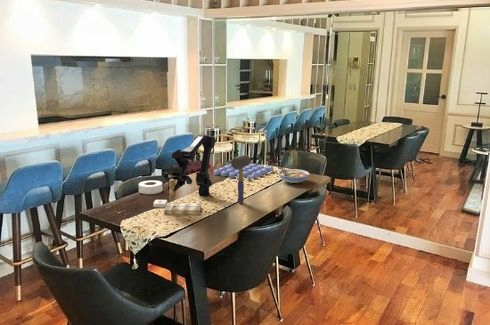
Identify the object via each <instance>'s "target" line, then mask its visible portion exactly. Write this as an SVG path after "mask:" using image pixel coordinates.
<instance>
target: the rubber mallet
mask: <svg viewBox="0 0 490 325" xmlns="http://www.w3.org/2000/svg"><path fill="white" fill-rule="evenodd" d="M230 164H231V166H232V167H233V168H234V169H239V179H238V181H237V202H238V204H243V203H244V201H245V199H244V188H245V185H244V177H243V167H246V166H248V165H249V164H251V158H250V156H249V155H248V154H247V155H246V154H243V155H239V156H238V155H237V156H235V157H234V158H232V159H231V162H230Z"/></svg>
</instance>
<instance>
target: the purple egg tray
mask: <svg viewBox="0 0 490 325" xmlns="http://www.w3.org/2000/svg"><path fill="white" fill-rule="evenodd" d="M259 170H260V171H259ZM246 171H247V172H246ZM271 171H272V172H273V166H269V165H268V166H265V165H261V164H256V163H250V164H249V165H248V166H246V167H243V178H244V177H247V178H246V179H247V180H250V181H251V180H252V179H253V178H256V179H257V178H258V177H257V176H262V175H263V174H267V173H268V172H271ZM212 172H213V175H214V176H220V175H221V177H223V178H225V176H226V177H227V176H228V177H229V179H234V178H236V177H237V180H239V169H234V168H233V167H232V166H231V163H229V164H228V165H227V164H226V165H223V167H220V168H219V169H214V170H213V171H212ZM254 172H255V173H254ZM227 174H229V175H227ZM268 174H269V173H268ZM268 174H267V175H268ZM235 175H236V176H235ZM249 175H251V176H249ZM263 176H264V175H263ZM263 176H262V177H263Z"/></svg>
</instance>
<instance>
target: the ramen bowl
mask: <svg viewBox="0 0 490 325" xmlns="http://www.w3.org/2000/svg"><path fill="white" fill-rule="evenodd" d="M277 173H278V174H277V175H278V176H279V177H280V179H282V181H284V182H286V183H288V182H289V183H288V184H291V183H297V184H299V183H302V182H304V181H306V180H307V179H308V178H309V176H310V172H309V171H306V170H304V169H297V168H296V169H295V168H287V169H286V168H285V167H281V169H280V170H279V171H278V172H277Z"/></svg>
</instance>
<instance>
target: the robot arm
mask: <svg viewBox="0 0 490 325" xmlns="http://www.w3.org/2000/svg"><path fill="white" fill-rule="evenodd" d="M216 140H217V139H216V137H215V136H213V135H206V134H198V135H197V137H196V139H195V140H194V141H193V142H192V143H191V144H190V145H189V146H188V147H185V148H184V149H183V150H181V149H176V151H174V152H172V154H171V158H172V160H174V162H175V163H176V164H177V166H169V167H168V172H162V173H161V177H162V178H163V180H165V181H166V182H168V183H167V191H169V180H170V179H175V181H176V182H175V184H176V185H175V188H174V190H173V191H174V192H175V191H176V192H177V190H179V189H180V188H181V187H183V186H185V185H186V184H187V185H192V183H193V179H192V178H191V177H190V176H189V175H186V174H187V169H188V167H191V162H190V161H193V160H194V158H195V157H196V155H197V154H196V152H197V151H198V150H199V148H200V147H201V146H202V148H203V151H202V158H201V162H200V163H201V164H200V170H199V171H198V172H196V176H195V182H196V186H199V187H198V195H199V197H200V196H203V197H205V196H206V197H208V196H210V187H211V186H213V185H212V184H213V182H212V180H211V179H210V173H209V168H210V162H211V161H210V160H211V153H212V149H213V148H215V144H216ZM169 192H170V191H169Z"/></svg>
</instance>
